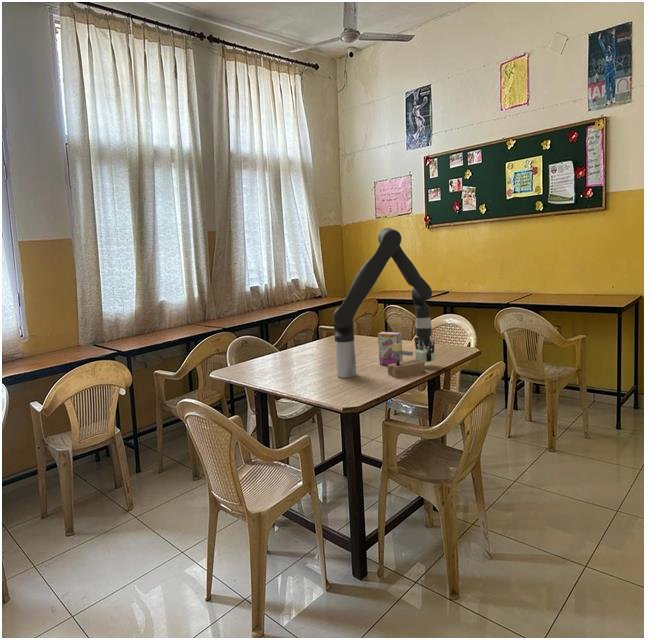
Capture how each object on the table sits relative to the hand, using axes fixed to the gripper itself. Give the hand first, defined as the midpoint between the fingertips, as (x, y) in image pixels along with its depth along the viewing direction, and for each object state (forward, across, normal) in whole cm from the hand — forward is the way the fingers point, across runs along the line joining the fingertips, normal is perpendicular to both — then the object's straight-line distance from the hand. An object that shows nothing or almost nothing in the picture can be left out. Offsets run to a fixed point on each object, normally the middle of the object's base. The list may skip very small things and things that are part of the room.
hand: (425, 359), depth 248 cm
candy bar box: (+4, -14, -11) cm, 18 cm away
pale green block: (0, 0, 0) cm, 0 cm away
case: (+3, +5, -14) cm, 15 cm away
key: (-2, +7, -17) cm, 19 cm away
